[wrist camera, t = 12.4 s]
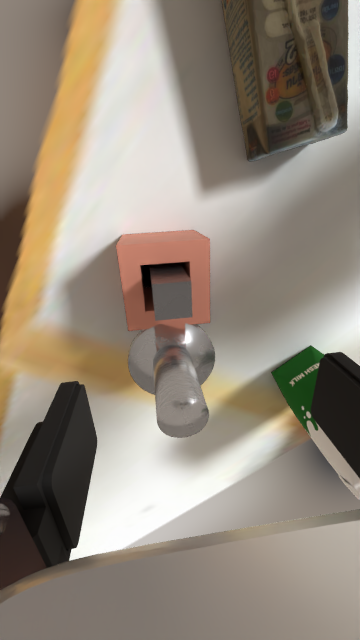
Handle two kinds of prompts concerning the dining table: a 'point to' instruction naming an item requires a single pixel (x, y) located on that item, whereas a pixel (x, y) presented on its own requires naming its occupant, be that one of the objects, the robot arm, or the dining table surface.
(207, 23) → the dining table surface
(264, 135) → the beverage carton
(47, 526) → the robot arm
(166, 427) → the silver flanged rod
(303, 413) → the milk carton
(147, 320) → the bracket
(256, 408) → the dining table surface
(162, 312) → the gray square bar
